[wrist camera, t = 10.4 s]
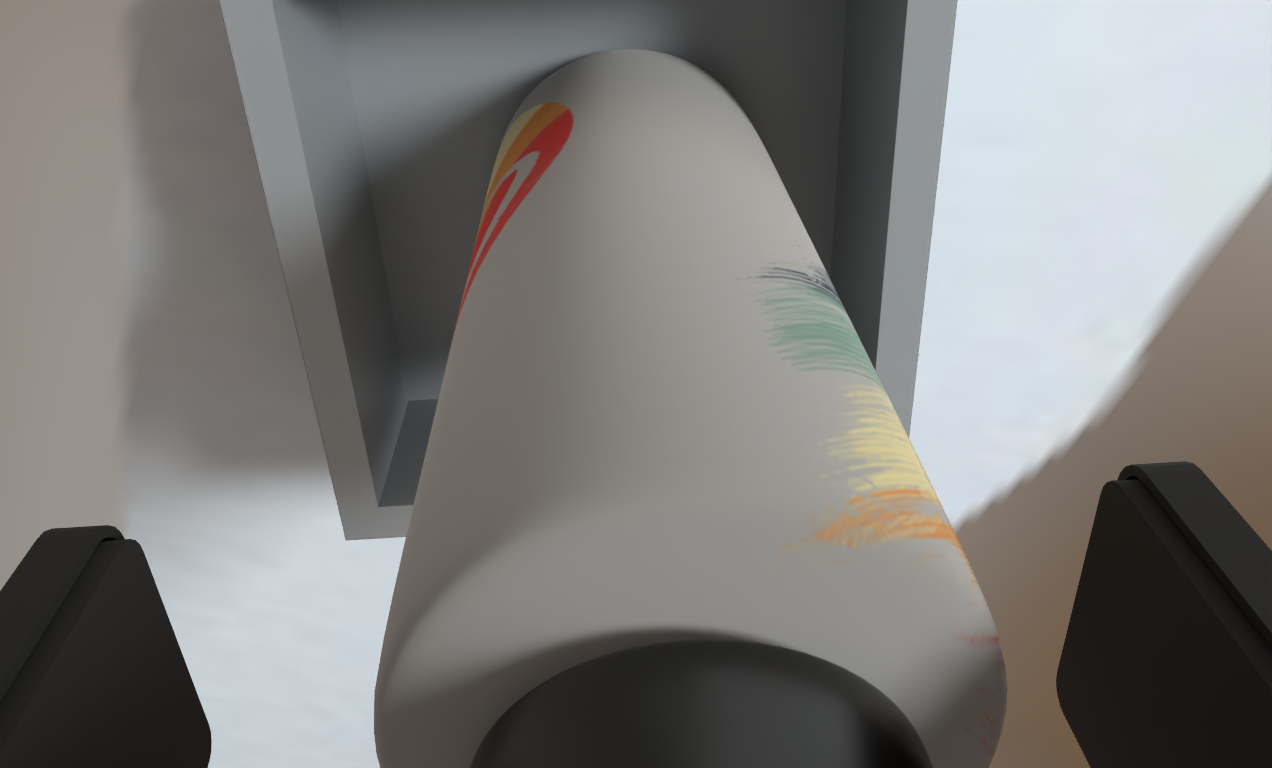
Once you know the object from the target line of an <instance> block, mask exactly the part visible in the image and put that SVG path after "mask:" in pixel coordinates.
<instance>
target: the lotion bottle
mask: <svg viewBox="0 0 1272 768" xmlns="http://www.w3.org/2000/svg"><path fill="white" fill-rule="evenodd" d="M1006 701H1007V683H1006V670H1005V664H1004V659H1003V655H1002V651H1001V647H1000V642H999V638H998V634H997V630H996V626H995V623H994V621H993V619H992V616H991V614H990V611H989V608H988V606H987V603H986V601H985V599H984V596H983V594H982V592H981V589H980V587H979V585H978V582H977V580H976V578H975V575H974V573H973V571H972V569H971V567H970V565H969V562H968V560H967V558H966V556H965V554H964V552H963V549H962V547H961V545H960V543H959V541H958V539H957V536H956V534H955V532H954V530H953V528H952V526H951V524H950V522H949V520H948V518H947V516H946V514H945V512H944V509H943V507H942V505H941V503H940V501H939V499H938V497H937V495H936V493H935V491H934V489H933V487H932V485H931V483H930V481H929V479H928V476H927V474H926V472H925V470H924V468H923V466H922V464H921V462H920V460H919V458H918V456H917V454H916V452H915V450H914V448H913V446H912V444H911V442H910V440H909V438H908V436H907V434H906V432H905V430H904V428H903V426H902V424H901V422H900V420H899V418H898V415H897V413H896V411H895V409H894V407H893V405H892V403H891V401H890V399H889V397H888V395H887V393H886V391H885V389H884V387H883V385H882V383H881V381H880V379H879V377H878V375H877V373H876V371H875V369H874V367H873V365H872V363H871V361H870V359H869V357H868V355H867V353H866V351H865V349H864V347H863V345H862V343H861V341H860V339H859V337H858V335H857V332H856V330H855V328H854V326H853V324H852V322H851V320H850V318H849V316H848V314H847V312H846V310H845V308H844V306H843V304H842V302H841V300H840V298H839V296H838V294H837V292H836V290H835V288H834V286H833V284H832V282H831V280H830V278H829V276H828V274H827V272H826V270H825V268H824V266H823V264H822V262H821V260H820V258H819V256H818V254H817V252H816V249H815V247H814V245H813V243H812V241H811V239H810V237H809V235H808V233H807V231H806V229H805V227H804V225H803V223H802V221H801V219H800V217H799V215H798V213H797V211H796V209H795V207H794V205H793V203H792V201H791V199H790V197H789V195H788V193H787V191H786V189H785V187H784V185H783V183H782V181H781V179H780V177H779V175H778V173H777V171H776V169H775V166H774V164H773V162H772V160H771V158H770V156H769V154H768V152H767V150H766V148H765V147H764V145H763V143H762V141H761V139H760V137H759V135H758V133H757V132H756V130H755V128H754V126H753V124H752V122H751V121H750V119H749V118H748V116H747V114H746V113H745V111H744V110H743V108H742V107H741V106H740V104H739V103H738V102H737V100H736V99H735V98H734V97H733V96H732V95H731V94H730V92H729V91H728V90H727V89H726V88H725V87H724V86H723V85H722V84H721V83H720V82H718V81H717V80H716V79H715V78H713V77H712V76H711V75H710V74H708V73H707V72H705V71H704V70H702V69H701V68H699V67H697V66H696V65H694V64H692V63H689V62H687V61H685V60H683V59H681V58H678V57H675V56H672V55H669V54H665V53H661V52H657V51H650V50H643V49H620V50H611V51H605V52H600V53H596V54H592V55H589V56H586V57H583V58H581V59H578V60H575V61H573V62H571V63H569V64H567V65H565V66H563V67H562V68H560V69H559V70H557V71H556V72H554V73H552V74H551V75H550V76H548V77H547V78H546V79H545V80H543V81H542V82H541V83H540V84H539V85H538V86H537V87H536V88H535V89H534V90H533V91H532V92H531V93H530V94H529V95H528V96H527V97H526V99H525V100H524V101H523V102H522V104H521V105H520V107H519V108H518V110H517V111H516V112H515V114H514V116H513V118H512V120H511V122H510V123H509V125H508V127H507V129H506V131H505V134H504V136H503V139H502V141H501V144H500V147H499V150H498V153H497V157H496V160H495V164H494V167H493V171H492V175H491V179H490V183H489V187H488V191H487V195H486V200H485V204H484V208H483V212H482V217H481V221H480V225H479V229H478V234H477V238H476V242H475V246H474V251H473V255H472V259H471V263H470V268H469V272H468V276H467V280H466V285H465V289H464V293H463V297H462V302H461V306H460V310H459V314H458V319H457V323H456V327H455V331H454V336H453V340H452V344H451V348H450V353H449V357H448V361H447V365H446V369H445V374H444V378H443V382H442V386H441V391H440V395H439V399H438V403H437V408H436V412H435V416H434V420H433V425H432V429H431V433H430V437H429V442H428V446H427V450H426V454H425V459H424V463H423V467H422V471H421V476H420V480H419V484H418V488H417V493H416V497H415V501H414V506H413V510H412V514H411V519H410V523H409V527H408V531H407V536H406V540H405V544H404V549H403V553H402V558H401V562H400V567H399V571H398V575H397V580H396V584H395V589H394V593H393V598H392V603H391V607H390V612H389V617H388V622H387V626H386V631H385V636H384V641H383V647H382V653H381V658H380V664H379V670H378V676H377V681H376V687H375V701H374V734H375V743H376V752H377V757H378V761H379V764H380V768H988V767H989V765H990V763H991V761H992V759H993V756H994V754H995V751H996V748H997V745H998V742H999V739H1000V736H1001V733H1002V729H1003V723H1004V719H1005V713H1006Z"/></svg>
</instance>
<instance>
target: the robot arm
mask: <svg viewBox="0 0 1272 768" xmlns="http://www.w3.org/2000/svg"><path fill="white" fill-rule="evenodd" d="M1056 682H1057V683H1056V686H1057V694H1058V699H1059V702H1060V706H1061V708H1062V711H1063V714H1064V716H1065V718H1066V720H1067V722H1068V724H1069V725H1070V728H1071V729H1072V731H1073V733H1074V735H1075V737H1076V739H1077V741H1078V743H1079V745H1080V747H1081V749H1082V751H1083V753H1084V755H1085V757H1086V759H1087V761H1088V763H1089V765H1090V767H1091V768H1272V551H1271V550H1270V548H1269V547H1268V546H1267V545H1266V544H1265V543H1264V541H1263V540H1262V539H1261V538H1260V537H1259V536H1258V535H1257V534H1256V532H1255V531H1254V530H1253V529H1252V528H1251V527H1250V526H1249V524H1248V523H1247V522H1246V521H1245V520H1244V519H1243V517H1242V516H1241V515H1240V514H1239V513H1238V512H1237V511H1236V509H1235V508H1234V507H1233V506H1232V505H1231V504H1230V502H1229V501H1228V500H1227V499H1226V498H1225V497H1224V496H1223V495H1222V493H1221V492H1220V491H1219V490H1218V489H1217V488H1216V487H1215V485H1214V484H1213V483H1212V482H1211V481H1210V480H1209V478H1208V477H1207V476H1206V475H1205V474H1204V473H1203V472H1202V470H1201V469H1199V468H1198V467H1197V466H1196V465H1195V464H1193V463H1189V462H1169V463H1153V464H1136V465H1130V466H1127V467H1125V468H1124V469H1123V470H1122V472H1121V473H1120V475H1119V477H1118V480H1117V481H1110V482H1107V483H1106V484H1105V485H1104V487H1103V489H1102V492H1101V495H1100V499H1099V503H1098V507H1097V511H1096V515H1095V519H1094V524H1093V528H1092V532H1091V536H1090V540H1089V544H1088V548H1087V552H1086V556H1085V560H1084V564H1083V569H1082V573H1081V577H1080V581H1079V585H1078V589H1077V593H1076V598H1075V601H1074V605H1073V610H1072V614H1071V618H1070V622H1069V626H1068V630H1067V634H1066V638H1065V643H1064V646H1063V650H1062V655H1061V659H1060V663H1059V667H1058V672H1057V678H1056ZM210 754H211V731H210V727H209V724H208V721H207V719H206V716H205V713H204V711H203V708H202V705H201V703H200V700H199V697H198V695H197V692H196V689H195V687H194V684H193V682H192V679H191V676H190V674H189V671H188V668H187V666H186V663H185V660H184V658H183V655H182V652H181V650H180V647H179V644H178V642H177V639H176V637H175V634H174V631H173V629H172V626H171V623H170V621H169V618H168V615H167V613H166V610H165V607H164V605H163V602H162V599H161V597H160V594H159V592H158V589H157V586H156V584H155V581H154V578H153V576H152V573H151V570H150V568H149V565H148V562H147V560H146V557H145V554H144V552H143V550H142V548H141V546H140V544H139V543H138V542H137V541H136V540H132V539H124V537H123V535H122V534H121V532H120V531H119V530H118V529H117V528H116V527H113V526H108V525H106V526H89V527H73V528H55V529H50V530H47V531H45V532H43V533H42V535H40V537H39V538H38V539H37V540H36V542H35V543H34V544H33V546H32V547H31V548H30V550H29V551H28V553H27V554H26V556H25V557H24V558H23V560H22V561H21V563H20V564H19V565H18V567H17V568H16V570H15V571H14V573H13V574H12V575H11V577H10V578H9V580H8V581H7V582H6V584H5V585H4V587H3V588H2V590H1V591H0V768H207V767H208V764H209V760H210Z"/></svg>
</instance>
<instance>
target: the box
mask: <svg viewBox="0 0 1272 768" xmlns="http://www.w3.org/2000/svg"><path fill="white" fill-rule="evenodd" d="M219 1H220V5H221V10H222V14H223V18H224V22H225V27H226V31H227V35H228V40H229V44H230V48H231V52H232V57H233V61H234V65H235V69H236V74H237V78H238V82H239V86H240V91H241V95H242V99H243V104H244V108H245V112H246V116H247V121H248V125H249V129H250V133H251V138H252V142H253V146H254V150H255V155H256V159H257V163H258V168H259V172H260V176H261V180H262V185H263V189H264V193H265V197H266V202H267V206H268V210H269V214H270V219H271V223H272V227H273V232H274V236H275V240H276V244H277V249H278V253H279V257H280V261H281V266H282V270H283V274H284V278H285V283H286V287H287V291H288V295H289V300H290V304H291V308H292V313H293V317H294V321H295V325H296V330H297V334H298V338H299V342H300V347H301V351H302V355H303V359H304V364H305V368H306V372H307V377H308V381H309V385H310V389H311V394H312V398H313V402H314V406H315V411H316V415H317V419H318V423H319V428H320V432H321V436H322V441H323V445H324V449H325V453H326V458H327V462H328V466H329V470H330V475H331V479H332V483H333V487H334V492H335V496H336V500H337V505H338V509H339V513H340V517H341V522H342V526H343V530H344V534H345V539H346V540H360V539H377V538H393V537H406V536H407V531H408V527H409V523H410V519H411V514H412V510H413V506H414V501H415V497H416V493H417V488H418V484H419V480H420V476H421V471H422V467H423V463H424V459H425V454H426V450H427V446H428V442H429V437H430V433H431V429H432V425H433V420H434V416H435V412H436V408H437V403H438V399H439V395H440V391H441V386H442V382H443V378H444V374H445V369H446V365H447V361H448V357H449V353H450V348H451V344H452V340H453V336H454V331H455V327H456V323H457V319H458V314H459V310H460V306H461V302H462V297H463V293H464V289H465V285H466V280H467V276H468V272H469V268H470V263H471V259H472V255H473V251H474V246H475V242H476V238H477V234H478V229H479V225H480V221H481V217H482V212H483V208H484V204H485V200H486V195H487V191H488V187H489V183H490V179H491V175H492V171H493V167H494V164H495V160H496V157H497V153H498V150H499V147H500V144H501V141H502V139H503V136H504V134H505V131H506V129H507V127H508V125H509V123H510V122H511V120H512V118H513V116H514V114H515V112H516V111H517V110H518V108H519V107H520V105H521V104H522V102H523V101H524V100H525V99H526V97H527V96H528V95H529V94H530V93H531V92H532V91H533V90H534V89H535V88H536V87H537V86H538V85H539V84H540V83H541V82H542V81H543V80H545V79H546V78H547V77H548V76H550V75H551V74H552V73H554V72H556V71H557V70H559V69H560V68H562V67H563V66H565V65H567V64H569V63H571V62H573V61H575V60H578V59H581V58H583V57H586V56H589V55H592V54H596V53H600V52H605V51H611V50H620V49H643V50H650V51H657V52H661V53H665V54H669V55H672V56H675V57H678V58H681V59H683V60H685V61H687V62H689V63H692V64H694V65H696V66H697V67H699V68H701V69H702V70H704V71H705V72H707V73H708V74H710V75H711V76H712V77H713V78H715V79H716V80H717V81H718V82H720V83H721V84H722V85H723V86H724V87H725V88H726V89H727V90H728V91H729V92H730V94H731V95H732V96H733V97H734V98H735V99H736V100H737V102H738V103H739V104H740V106H741V107H742V108H743V110H744V111H745V113H746V114H747V116H748V118H749V119H750V121H751V122H752V124H753V126H754V128H755V130H756V132H757V133H758V135H759V137H760V139H761V141H762V143H763V145H764V147H765V148H766V150H767V152H768V154H769V156H770V158H771V160H772V162H773V164H774V166H775V169H776V171H777V173H778V175H779V177H780V179H781V181H782V183H783V185H784V187H785V189H786V191H787V193H788V195H789V197H790V199H791V201H792V203H793V205H794V207H795V209H796V211H797V213H798V215H799V217H800V219H801V221H802V223H803V225H804V227H805V229H806V231H807V233H808V235H809V237H810V239H811V241H812V243H813V245H814V247H815V249H816V252H817V254H818V256H819V258H820V260H821V262H822V264H823V266H824V268H825V270H826V272H827V274H828V276H829V278H830V280H831V282H832V284H833V286H834V288H835V290H836V292H837V294H838V296H839V298H840V300H841V302H842V304H843V306H844V308H845V310H846V312H847V314H848V316H849V318H850V320H851V322H852V324H853V326H854V328H855V330H856V332H857V335H858V337H859V339H860V341H861V343H862V345H863V347H864V349H865V351H866V353H867V355H868V357H869V359H870V361H871V363H872V365H873V367H874V369H875V371H876V373H877V375H878V377H879V379H880V381H881V383H882V385H883V387H884V389H885V391H886V393H887V395H888V397H889V399H890V401H891V403H892V405H893V407H894V409H895V411H896V413H897V415H898V418H899V420H900V422H901V424H902V426H903V428H904V430H905V432H906V434H907V436H908V438H909V434H910V425H911V416H912V407H913V398H914V389H915V379H916V370H917V361H918V352H919V343H920V334H921V325H922V316H923V307H924V298H925V289H926V280H927V271H928V262H929V253H930V244H931V235H932V226H933V217H934V208H935V199H936V190H937V181H938V172H939V163H940V154H941V145H942V135H943V126H944V117H945V108H946V99H947V90H948V81H949V72H950V63H951V54H952V45H953V36H954V27H955V18H956V9H957V0H219Z"/></svg>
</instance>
